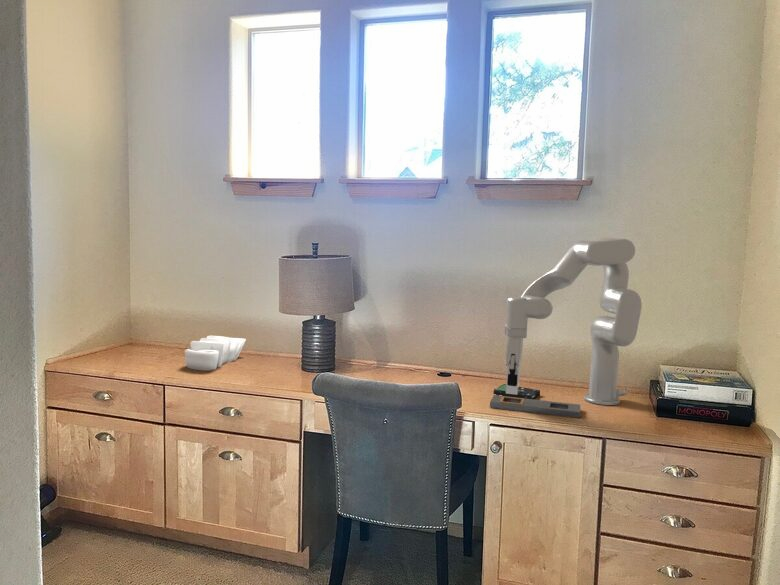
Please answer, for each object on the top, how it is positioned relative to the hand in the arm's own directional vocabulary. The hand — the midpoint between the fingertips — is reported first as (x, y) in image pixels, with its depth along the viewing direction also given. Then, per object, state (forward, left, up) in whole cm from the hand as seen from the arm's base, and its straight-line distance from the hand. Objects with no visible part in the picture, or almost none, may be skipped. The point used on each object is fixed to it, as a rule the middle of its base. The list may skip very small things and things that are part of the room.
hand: (512, 383), depth 215 cm
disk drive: (-10, -13, -9) cm, 19 cm away
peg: (0, 0, -3) cm, 3 cm away
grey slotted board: (-7, +5, -8) cm, 11 cm away
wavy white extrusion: (+96, -87, -8) cm, 130 cm away
